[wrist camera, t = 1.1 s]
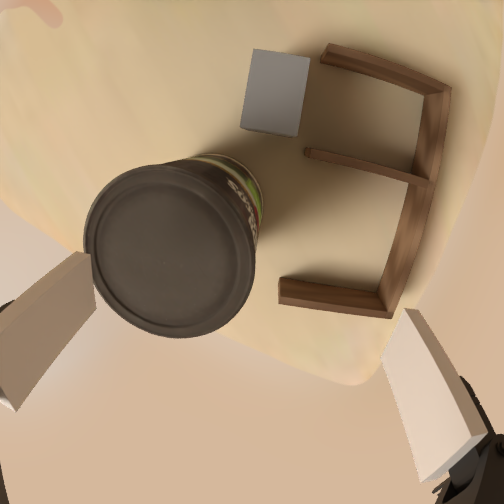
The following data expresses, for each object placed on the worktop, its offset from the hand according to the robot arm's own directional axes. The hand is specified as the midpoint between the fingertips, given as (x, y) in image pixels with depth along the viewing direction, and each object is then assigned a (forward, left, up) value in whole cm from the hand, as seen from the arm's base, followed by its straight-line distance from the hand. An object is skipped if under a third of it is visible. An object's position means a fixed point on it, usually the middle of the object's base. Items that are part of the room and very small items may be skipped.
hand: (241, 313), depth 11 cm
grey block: (-10, 0, -18) cm, 21 cm away
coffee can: (+1, -5, -19) cm, 19 cm away
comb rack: (-4, +9, -18) cm, 21 cm away
